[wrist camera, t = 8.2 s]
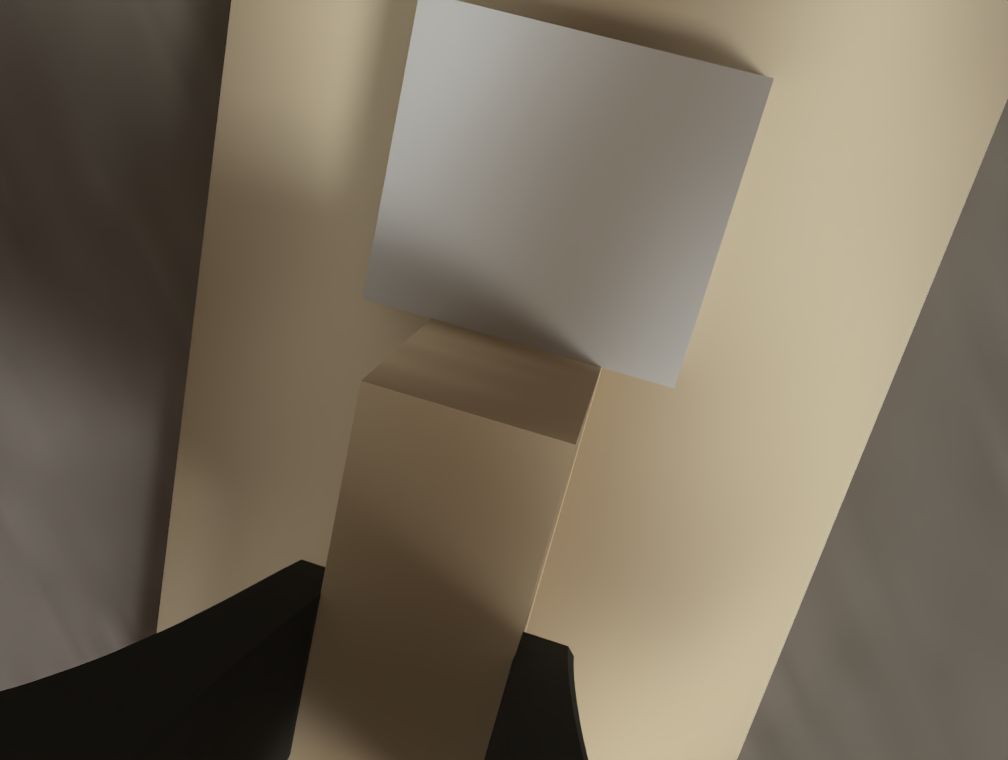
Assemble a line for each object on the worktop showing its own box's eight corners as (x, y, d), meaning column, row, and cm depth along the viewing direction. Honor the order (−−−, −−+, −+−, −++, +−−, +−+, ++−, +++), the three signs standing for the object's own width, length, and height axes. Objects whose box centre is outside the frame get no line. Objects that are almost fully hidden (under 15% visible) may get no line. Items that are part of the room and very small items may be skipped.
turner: (282, 803, 17) (178, 983, 13) (436, -3, 12) (335, -37, 9) (511, 884, 16) (463, 1093, 13) (768, 78, 11) (798, 76, 8)
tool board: (143, 932, 20) (116, 973, 19) (290, -201, 12) (258, -223, 12) (582, 1098, 19) (576, 1151, 18) (1034, -33, 11) (1065, -43, 10)
